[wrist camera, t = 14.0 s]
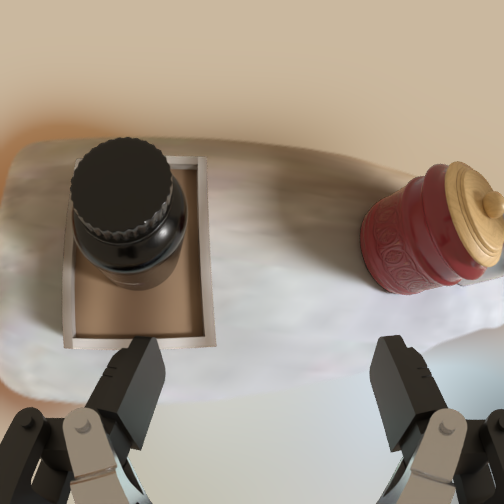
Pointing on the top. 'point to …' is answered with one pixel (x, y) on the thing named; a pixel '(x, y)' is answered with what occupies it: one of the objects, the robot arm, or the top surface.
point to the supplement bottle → (128, 213)
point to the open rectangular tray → (147, 301)
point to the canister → (434, 231)
